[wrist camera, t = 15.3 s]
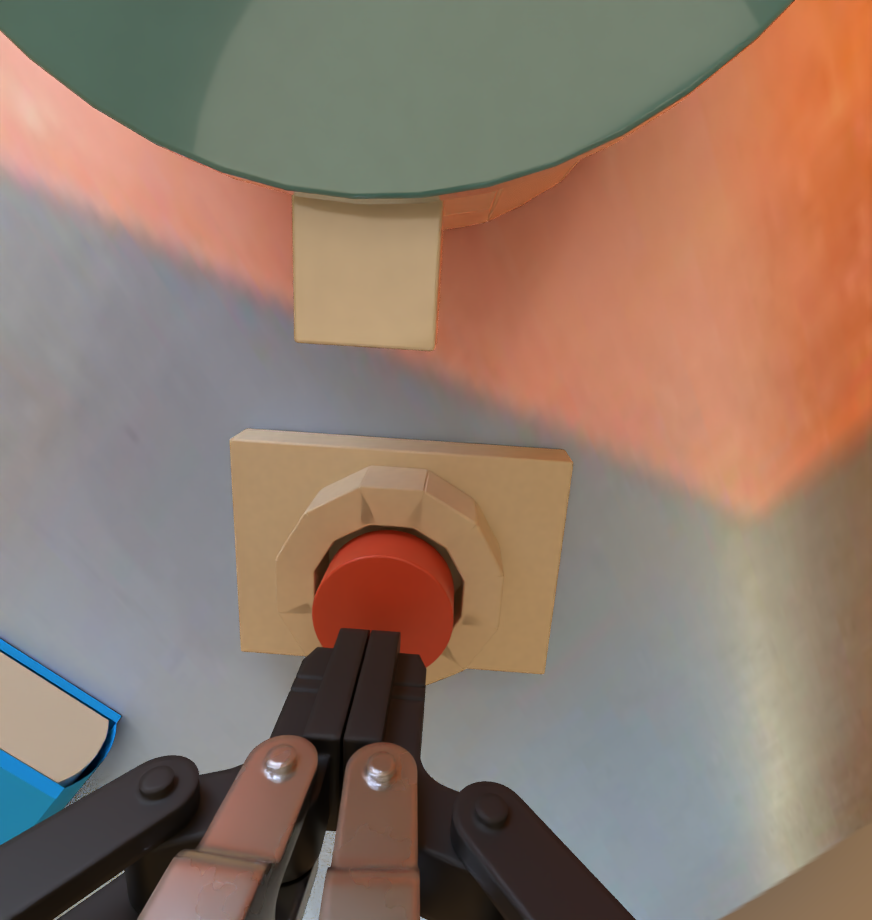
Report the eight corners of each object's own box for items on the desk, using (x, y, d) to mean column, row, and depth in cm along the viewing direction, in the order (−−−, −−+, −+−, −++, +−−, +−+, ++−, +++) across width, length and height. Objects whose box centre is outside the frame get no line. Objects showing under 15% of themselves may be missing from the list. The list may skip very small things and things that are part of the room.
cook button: (458, 533, 16) (458, 561, 15) (449, 647, 18) (448, 685, 16) (325, 524, 16) (310, 550, 15) (325, 638, 18) (311, 674, 16)
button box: (565, 448, 19) (588, 483, 15) (538, 649, 21) (553, 716, 18) (246, 427, 19) (199, 456, 16) (254, 628, 21) (216, 690, 18)
